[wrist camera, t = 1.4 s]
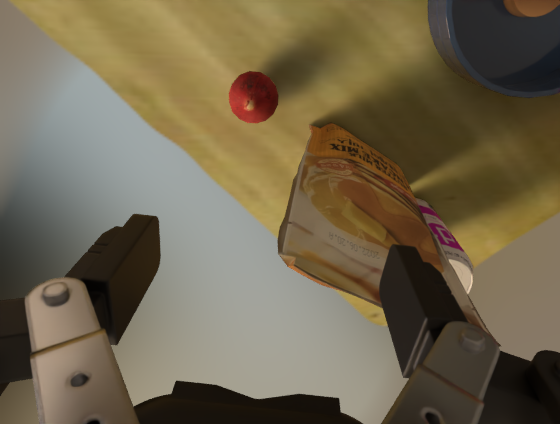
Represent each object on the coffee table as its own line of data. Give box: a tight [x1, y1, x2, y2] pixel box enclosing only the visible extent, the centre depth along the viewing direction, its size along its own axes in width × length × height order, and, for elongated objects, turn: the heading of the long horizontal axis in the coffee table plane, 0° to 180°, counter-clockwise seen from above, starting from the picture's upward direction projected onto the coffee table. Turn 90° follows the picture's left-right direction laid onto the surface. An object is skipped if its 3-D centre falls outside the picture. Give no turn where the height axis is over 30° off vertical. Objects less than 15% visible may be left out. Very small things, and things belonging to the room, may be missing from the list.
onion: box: [229, 71, 278, 123], centre depth 44 cm, size 6×6×8 cm
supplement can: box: [415, 198, 473, 294], centre depth 48 cm, size 8×8×15 cm
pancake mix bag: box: [278, 123, 501, 346], centre depth 39 cm, size 7×19×28 cm, turn 58°
